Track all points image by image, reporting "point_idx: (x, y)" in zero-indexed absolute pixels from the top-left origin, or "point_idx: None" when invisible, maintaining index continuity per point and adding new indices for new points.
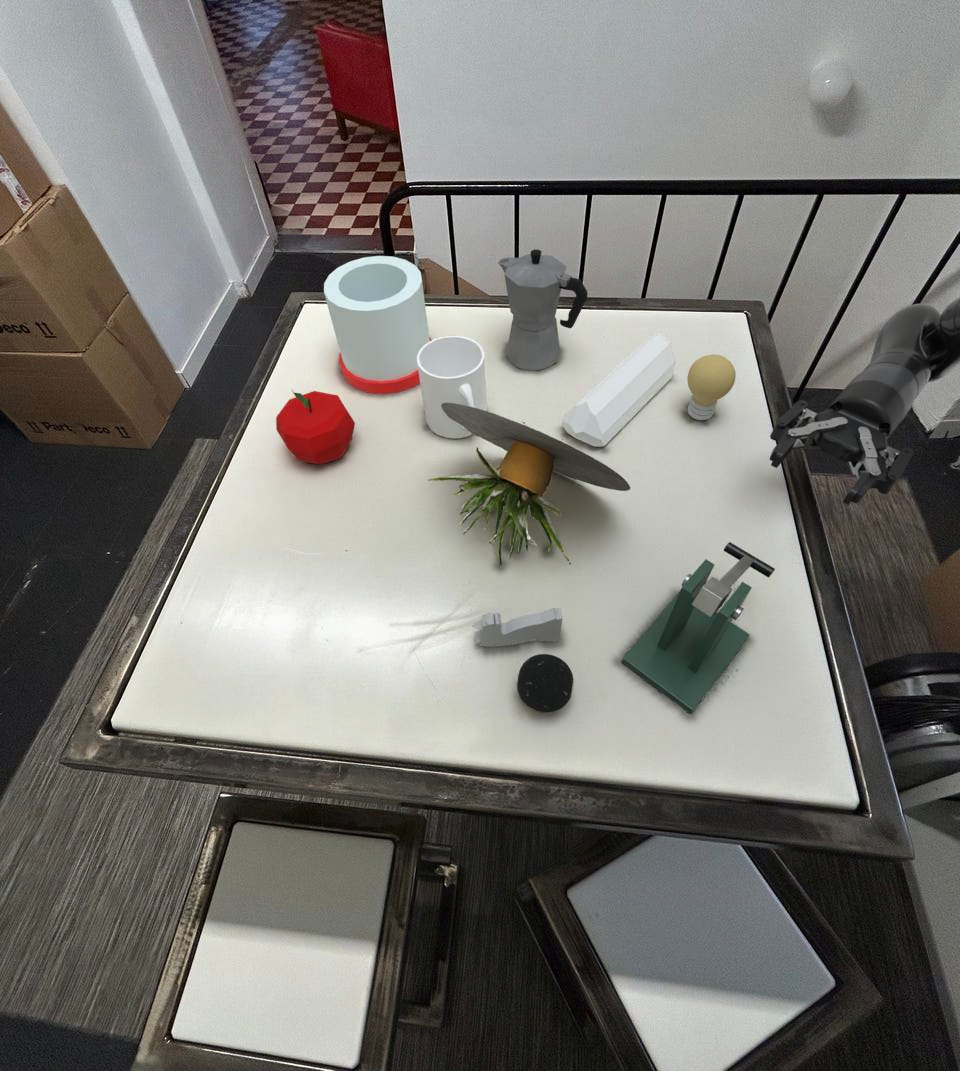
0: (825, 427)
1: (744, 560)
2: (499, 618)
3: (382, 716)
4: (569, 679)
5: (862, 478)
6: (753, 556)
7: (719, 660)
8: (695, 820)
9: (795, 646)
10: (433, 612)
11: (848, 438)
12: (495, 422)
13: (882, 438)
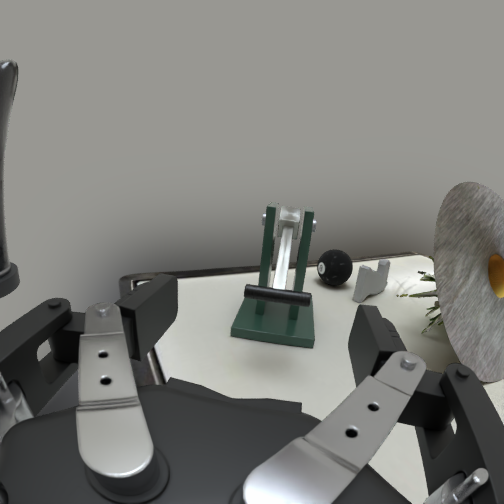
0: (343, 407)
1: (282, 276)
2: (383, 263)
3: (373, 267)
4: (325, 257)
5: (143, 294)
6: (275, 291)
7: (247, 307)
8: (224, 268)
9: (182, 341)
10: (412, 291)
11: (196, 431)
12: (500, 218)
13: (14, 455)
